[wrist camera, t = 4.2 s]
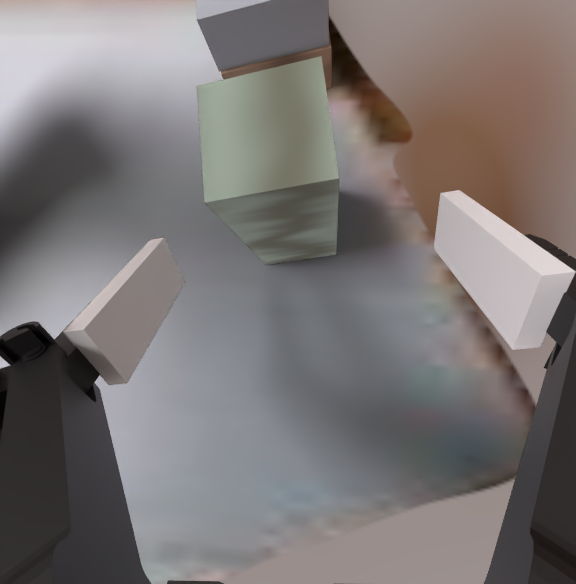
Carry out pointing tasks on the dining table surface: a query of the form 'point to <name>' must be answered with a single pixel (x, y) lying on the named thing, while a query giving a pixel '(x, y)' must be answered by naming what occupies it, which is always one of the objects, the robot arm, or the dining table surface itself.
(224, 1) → the slate block
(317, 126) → the sage block
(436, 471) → the dining table surface
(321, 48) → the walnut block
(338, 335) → the dining table surface
